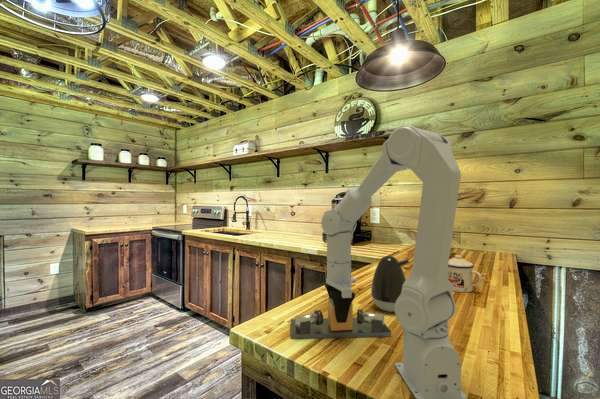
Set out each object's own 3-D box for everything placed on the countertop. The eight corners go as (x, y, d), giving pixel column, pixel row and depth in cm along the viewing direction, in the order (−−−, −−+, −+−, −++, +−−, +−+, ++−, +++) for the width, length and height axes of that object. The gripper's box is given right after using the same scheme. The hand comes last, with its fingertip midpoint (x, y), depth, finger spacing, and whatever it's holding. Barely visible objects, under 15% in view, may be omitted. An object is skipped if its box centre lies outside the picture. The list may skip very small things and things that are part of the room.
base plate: (391, 336, 63) (391, 332, 63) (291, 338, 63) (290, 334, 63) (380, 321, 71) (380, 317, 71) (290, 323, 71) (290, 319, 71)
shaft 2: (384, 327, 66) (384, 310, 66) (383, 333, 63) (383, 315, 63) (358, 323, 68) (358, 307, 68) (357, 329, 65) (357, 312, 65)
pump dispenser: (412, 317, 74) (412, 260, 74) (372, 314, 76) (371, 258, 76) (405, 303, 84) (405, 253, 84) (370, 300, 86) (370, 251, 86)
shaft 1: (299, 335, 62) (299, 317, 62) (294, 329, 65) (294, 311, 65) (323, 330, 64) (323, 312, 64) (317, 324, 67) (317, 308, 67)
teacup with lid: (438, 287, 98) (438, 254, 98) (451, 283, 103) (451, 251, 103) (475, 297, 88) (475, 261, 88) (488, 292, 93) (487, 257, 93)
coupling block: (352, 329, 64) (352, 304, 64) (331, 330, 64) (331, 304, 64) (347, 322, 68) (348, 297, 68) (328, 323, 68) (328, 298, 68)
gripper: (365, 267, 59) (365, 331, 59) (347, 254, 74) (347, 305, 74) (332, 268, 58) (333, 333, 59) (320, 255, 73) (321, 306, 73)
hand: (339, 317), depth 66 cm, fingers closed on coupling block, 4 cm apart
